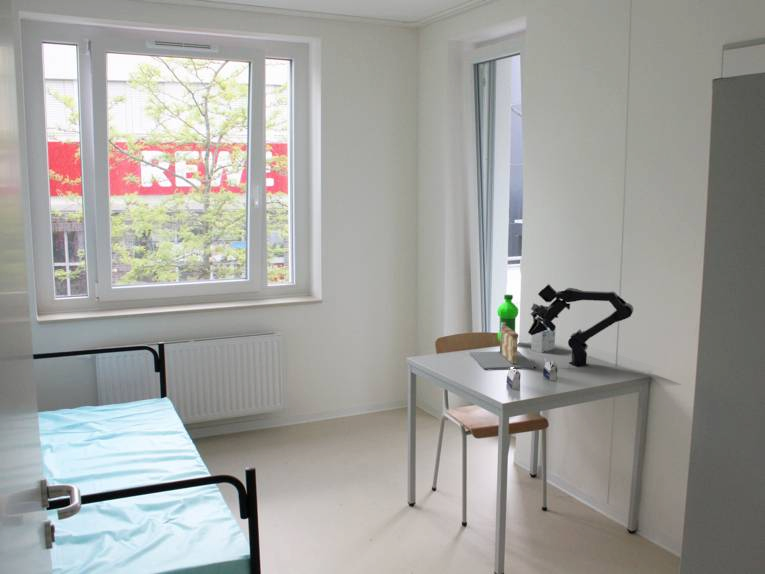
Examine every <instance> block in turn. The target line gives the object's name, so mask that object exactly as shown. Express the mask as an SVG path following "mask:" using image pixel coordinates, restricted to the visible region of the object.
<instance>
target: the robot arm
mask: <svg viewBox="0 0 765 574" xmlns="http://www.w3.org/2000/svg"><path fill="white" fill-rule="evenodd" d="M537 295H538V296H539V297H540V298H541V299H542V300H543V301H544V302H546V303H550V304H549V305H548V306H545V305H542V304H540V305H538V304H536V303H533V304H532V306H531V308H530V310H531V311H532V312H531V313H530V316H532V319H533V323H531V326H530V328H529V330H528V334H529V335H530V336H532V335H534V334H537V333H540V332H543V331H546V330H548V329H547V328H550V330H551V331H552V332H553V331H554V330H555V331H556V324H555V323H554V322H553V320H555V319H557V318H559V316H558V315H560V314H561V313H562V312H563V311H564V309H567V310H568V311H569V310H570V309H571V303H575V302H579V301H596V302H597V301H599V302H602V301H603V302H608V303H610V304H611V305H612V307H613V308H614V309H615V310H614V311H613V312H612V313H611V314H609V315H608V316H607V317H605V318H603V319H602V320H600V321H599V322H598V321H597V322H596V323H595V324H594V325H591V326H590V327H589V328H587V329H585V330H583V331H582V329H578V330H577V331H576V332H572V334H571V335H570V336H569V339H568V342H567V344H568V347H570V349H571V351H572V353H571V361H569V362H568V363H569V365H572V366H575V367H578V368H579V367H587V366H590V363H587V358H588V357H587V355H588V352H587V349H588V347H589V346H588V344H587V343H586V342H587V341H589V339H590V338H593V337H594V336H596V335H598V334H599V333H600V332H602V331H604V330H606V329H607V328H609V327H611V326H612V325H613V324H615V323H617V322H622V321H623V320H624V321H625V320H626V319H629V318H630V317H631V316H632V314H633V313H634V307H633V305H632V304H631V303H628V302H626V301H625V300H624V299H623V298H622V297H620V296H619V295H618V294H617V293H616V292H615V291H591V290H588V291H587V290H583V289H582V290H581V289H578V288H574V287H567V288H566V289H564V290H561V291H560V290H559V291H556V289H554V288H553V287H552V286H551V285H550V283H549V284H547V285H546V286H545V287H544V288H543V289H541V290H540V291H539V292H538V293H537Z"/></svg>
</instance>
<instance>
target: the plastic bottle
mask: <svg viewBox="0 0 765 574" xmlns="http://www.w3.org/2000/svg"><path fill="white" fill-rule="evenodd" d="M503 298H504V302H503V303H502V304H500V305H499V306H498V308H497V315H498V317H499V331H498V333H497V340H498V341H499V342H500V333H501V323H502V322H504V323H506V326H508V327H509V328H510V329H512V330H513V331H514V332H516V319H517V317H518V316H519V308H518V306H516V305H515V303H513V301H512V300H513V298H514V295H513V294H504V297H503Z"/></svg>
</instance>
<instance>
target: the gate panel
mask: <svg viewBox="0 0 765 574" xmlns="http://www.w3.org/2000/svg"><path fill="white" fill-rule="evenodd" d="M518 338H519V334H518V333H517V332H516V331H515V332H514V331H513V330H512V329H510V328H509V327H508V326H502V352H501V354H502V355H503V356H505V357H506V358H507V359H508V360H509V361H510V362H511V363H512V364H515V363H517V351H518V340H519V339H518Z"/></svg>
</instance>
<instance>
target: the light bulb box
mask: <svg viewBox="0 0 765 574" xmlns="http://www.w3.org/2000/svg"><path fill="white" fill-rule="evenodd" d="M547 329H548V330H546V331H543V332H540V333H537V334H534V335H531V346H530V347H531V348H530V349H532V350H531V351H533V350H536V351H535V352H537V351H539V352H538V353H541V352H542V353H545V352H549V351H553V350H555V345H556V344H555V343H556V329H555V330H554V331H553V332H552V331H551V330H550V328H547ZM544 351H545V352H544Z"/></svg>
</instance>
